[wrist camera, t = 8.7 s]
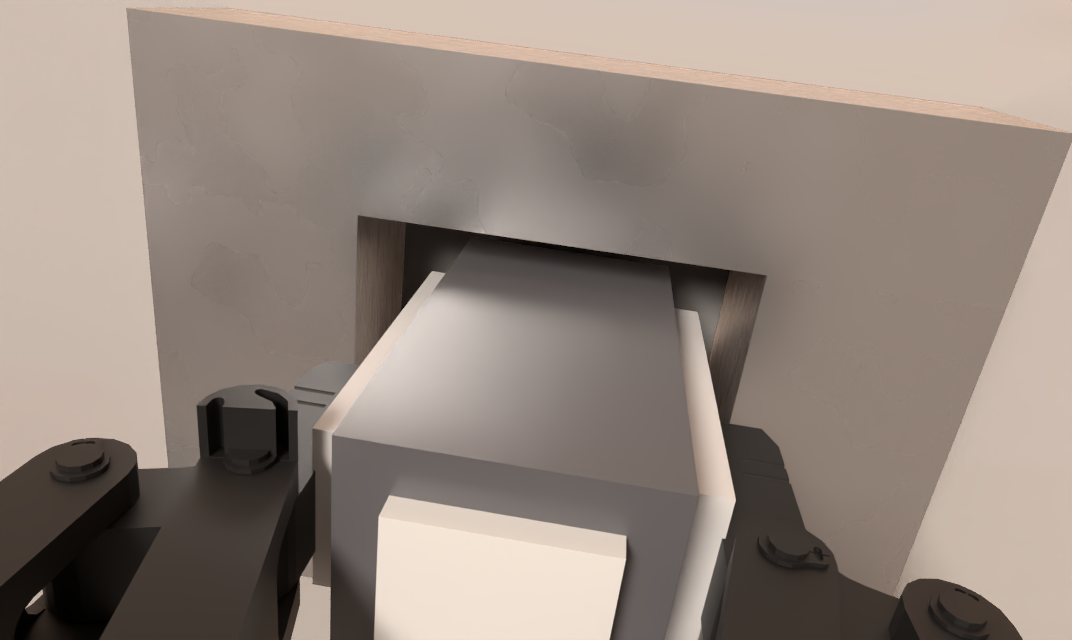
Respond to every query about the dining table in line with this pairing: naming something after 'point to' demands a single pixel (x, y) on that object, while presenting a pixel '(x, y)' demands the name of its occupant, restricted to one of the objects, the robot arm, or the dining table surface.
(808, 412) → the socket plate
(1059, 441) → the dining table surface
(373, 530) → the plug
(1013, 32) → the dining table surface
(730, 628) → the robot arm
